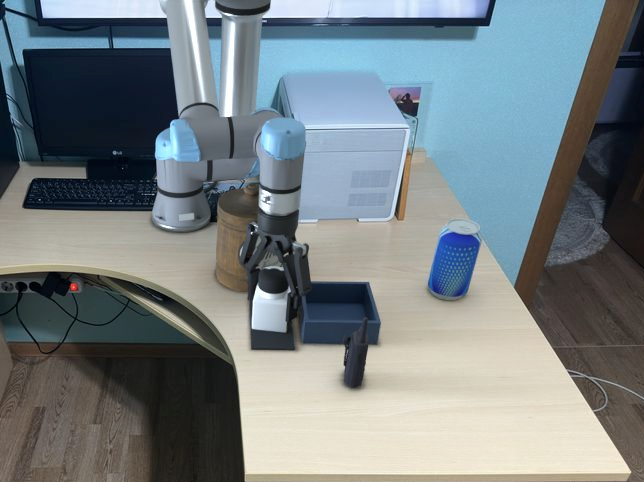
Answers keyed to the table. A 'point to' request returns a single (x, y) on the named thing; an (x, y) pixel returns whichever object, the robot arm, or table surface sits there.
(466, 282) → the beer can
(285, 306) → the medicine bottle
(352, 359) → the two-way radio
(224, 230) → the wooden container
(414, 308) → the table surface
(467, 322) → the table surface
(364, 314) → the tote
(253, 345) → the mat
